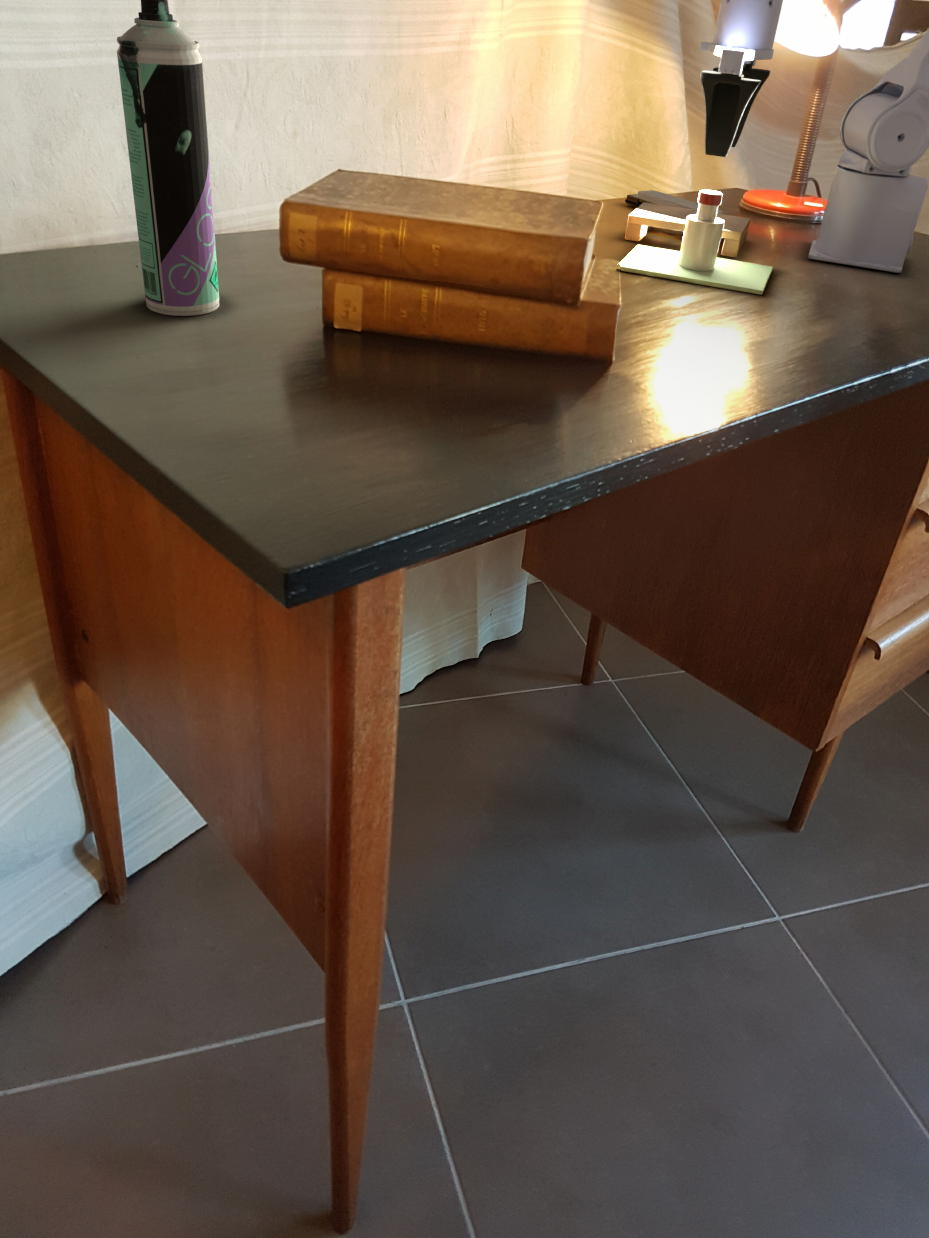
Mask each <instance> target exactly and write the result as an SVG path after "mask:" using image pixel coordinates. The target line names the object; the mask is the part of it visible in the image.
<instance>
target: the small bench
mask: <svg viewBox="0 0 929 1238" xmlns="http://www.w3.org/2000/svg"><path fill="white" fill-rule="evenodd" d="M697 212H698V210H692V209H685V208H678V207H672V206H665V205H659V204H652V203H646V202H644V203H642V204H641V205H640V206H639V207H638V208H636V207H635V209H634V210H633V211H632V212H630V213H629V214H628V216H627V223H626V228H625V235H624V240H627V241H631V242H632V241H633V242H640V241H641V240H642V239H643V238H644V237H645V236H647V234H648V233H650V232H651V230H652V229H653V228H657V229H658V228H659V229H665V230H671V231H677V232H683V233H684V229H685V224H686V219H687V216H689V215H697ZM716 217H717V218H720V219H722V220H724V227H723V231H722V236H721V239H724V240H723V244H722V248H721V253H720V255H721V256H724V257H730V258H737V257H738V255H739V253H740V252H741V250H742V249H743V247H744V244H745V243H746V240H747V236H748V231H749V227H750V223H751V218H749V217H743V216H737V215H730V214H729V215H728V214H725V213H724V214H718V213H717V214H716Z"/></svg>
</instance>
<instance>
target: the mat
mask: <svg viewBox="0 0 929 1238" xmlns="http://www.w3.org/2000/svg"><path fill="white" fill-rule="evenodd" d="M679 254H680V250H674V249H668V248H662V247H655V246H650V245H643V244H637V245H635V247H634V248H632V250H631V251H630V252H628V253H627V254H626V256H625V257H623V259H621V261H619V262H618V264H619V265H620V270H621V271H620V270H619V271H620V272H625V273H626V272H627V273H632V274H633V273H634V274H638V275H645V276H648V277H649V276H650V277H656V278H661V279H668V280H673V281H679V282H685V283H690V284H695V285H696V284H697V285H702V286H706V287H707V286H709V287H714V288H720V289H725V290H732V291H737V292H742V293H749V294H755V295H760V296H762V295H763V293H764V291H765V288H766V286H767V284H768V281H769V279H770V277H771V274H772V272H773V268H774V266H773V265H772V266H771V265H765V264H759V263H754V262H747V261H741V260H736V259H728V258H723V257H717V259H716V263H715V268H714V269H713V270H711V271H696V270H690V269H686V268H683V267H681V266H679V265H678V259H679Z"/></svg>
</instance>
